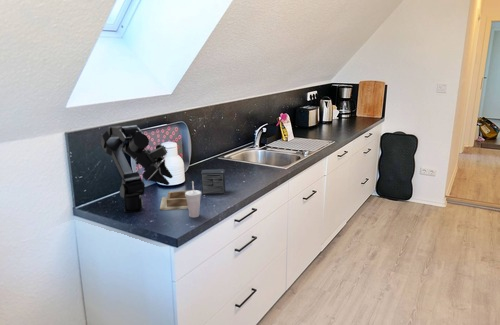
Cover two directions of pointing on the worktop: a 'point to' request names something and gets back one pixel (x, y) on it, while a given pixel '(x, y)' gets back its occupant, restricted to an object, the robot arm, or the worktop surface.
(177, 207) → the bottle stand
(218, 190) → the small box
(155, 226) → the worktop surface
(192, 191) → the smoothie
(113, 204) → the worktop surface
